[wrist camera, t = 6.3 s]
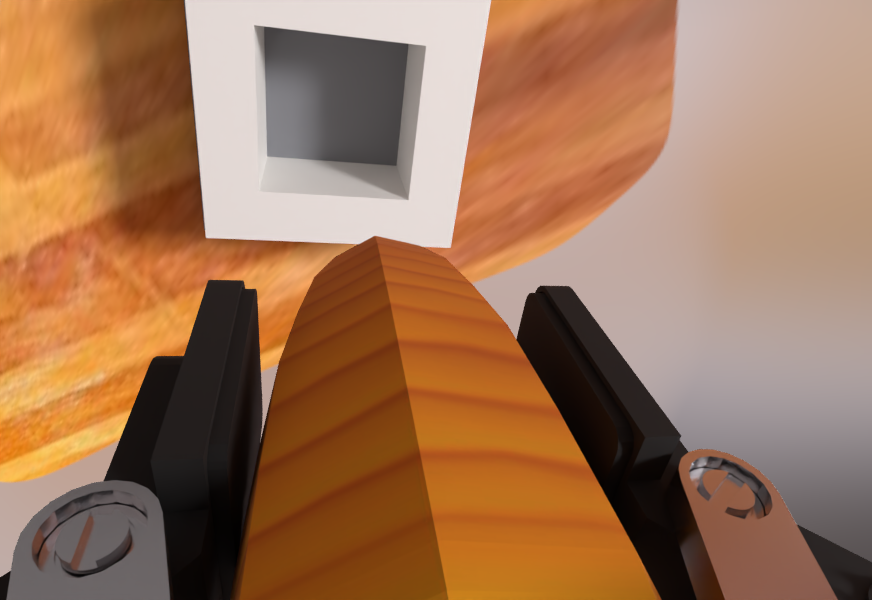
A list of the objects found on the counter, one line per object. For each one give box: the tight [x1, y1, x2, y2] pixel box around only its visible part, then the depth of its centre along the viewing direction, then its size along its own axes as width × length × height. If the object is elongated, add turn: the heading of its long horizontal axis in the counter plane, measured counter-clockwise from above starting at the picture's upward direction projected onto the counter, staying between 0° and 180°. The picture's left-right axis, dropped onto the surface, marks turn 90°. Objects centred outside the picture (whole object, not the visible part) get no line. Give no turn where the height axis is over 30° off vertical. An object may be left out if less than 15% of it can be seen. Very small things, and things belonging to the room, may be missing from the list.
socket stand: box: [184, 0, 491, 248], centre depth 27 cm, size 16×14×6 cm
